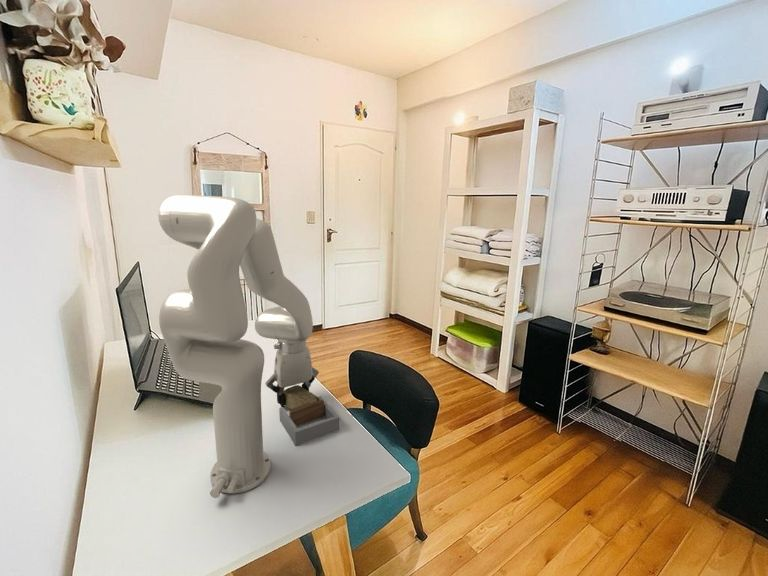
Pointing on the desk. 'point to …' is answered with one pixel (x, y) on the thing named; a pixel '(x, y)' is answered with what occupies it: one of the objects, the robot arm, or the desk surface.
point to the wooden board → (307, 412)
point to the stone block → (298, 397)
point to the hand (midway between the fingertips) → (293, 400)
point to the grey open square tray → (310, 426)
